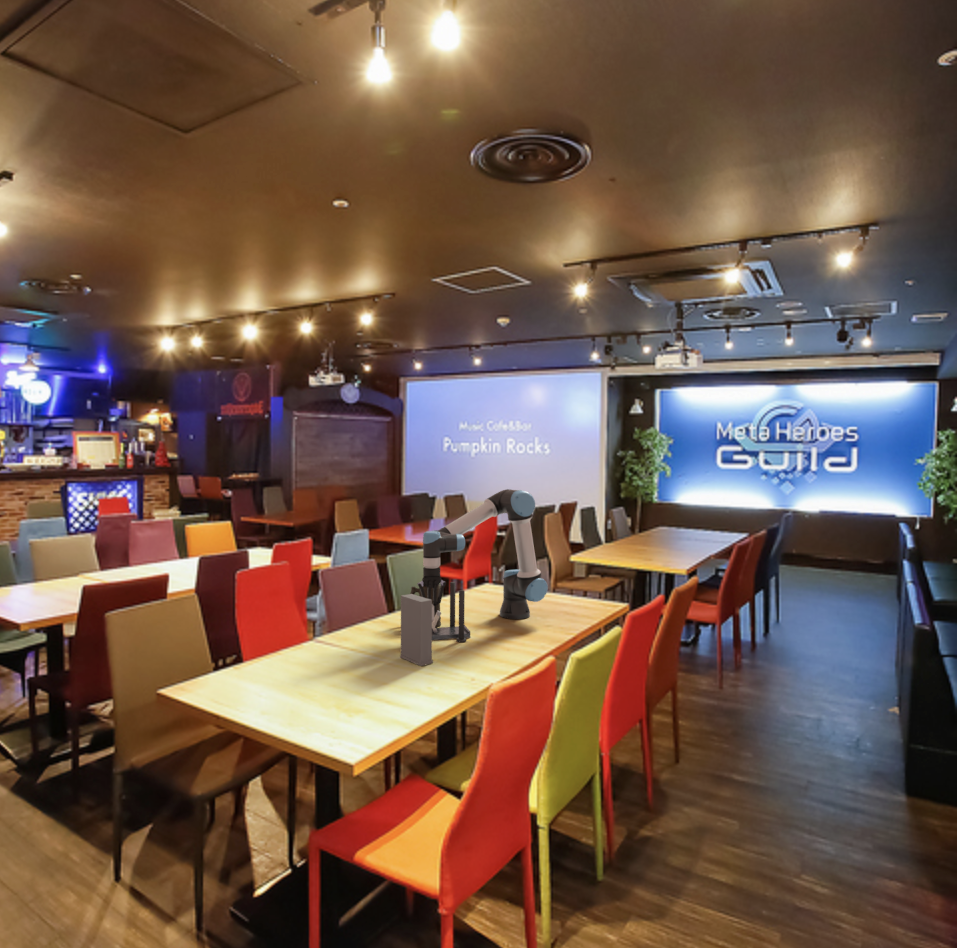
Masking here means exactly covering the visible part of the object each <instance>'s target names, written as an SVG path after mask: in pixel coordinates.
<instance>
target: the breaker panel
mask: <svg viewBox="0 0 958 948" xmlns="http://www.w3.org/2000/svg"><path fill="white" fill-rule="evenodd" d="M436 629H437V631H438V632H437V633H434V631H433V630H432V641H442V640H456V639H457V638H459V625H458V626H455V627H450V626H444V627H441V626H440V627H436ZM464 638H466V639H470V638H471V630H469V628H468V627H467V626H466V625H465V624H464Z"/></svg>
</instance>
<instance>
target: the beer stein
mask: <svg viewBox="0 0 958 948" xmlns="http://www.w3.org/2000/svg"><path fill="white" fill-rule="evenodd" d="M440 586H441V585H440V583H439V585H438V586H437V599H438V594H439V590H440ZM410 589H411V591H410V593H409V594H414V595H416V593H418V594H419V595H418V596H420V597H422V595H421V591H420V588H419V587H416V586H411V587H410ZM423 589H424V593H425V597H426V598H427V587H426V585H425V584H424V583H423ZM431 600H432V604H433V588H431ZM437 610H438V611H440V612H441V603H440V604H437V606H436V612H437ZM436 612H435V613H434V617H435V615H436ZM441 619H442V618H441V616H440V617H439V619H438V621H437V623H436V626H435V628H440V627H441V625H442V623H441V622H442V621H441ZM432 622H433V621H432Z"/></svg>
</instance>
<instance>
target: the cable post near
mask: <svg viewBox="0 0 958 948" xmlns="http://www.w3.org/2000/svg"><path fill="white" fill-rule="evenodd" d="M465 592H466V591H465V590H463V589H460V590H458V626H459V638H457V639H455V640H456V641H455V642H457V643H460V644H463V643H466V642H467V638H464V625H465Z"/></svg>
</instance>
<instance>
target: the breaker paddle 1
mask: <svg viewBox="0 0 958 948" xmlns="http://www.w3.org/2000/svg"><path fill="white" fill-rule="evenodd" d="M441 615H442V611H441V610H440V611H438V610H437V612H436V615H435V617H434V621H433V622H432V623H433V625H434V626H436V623H437V621H438V619H439V617H441ZM432 630H433V629H432Z"/></svg>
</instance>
